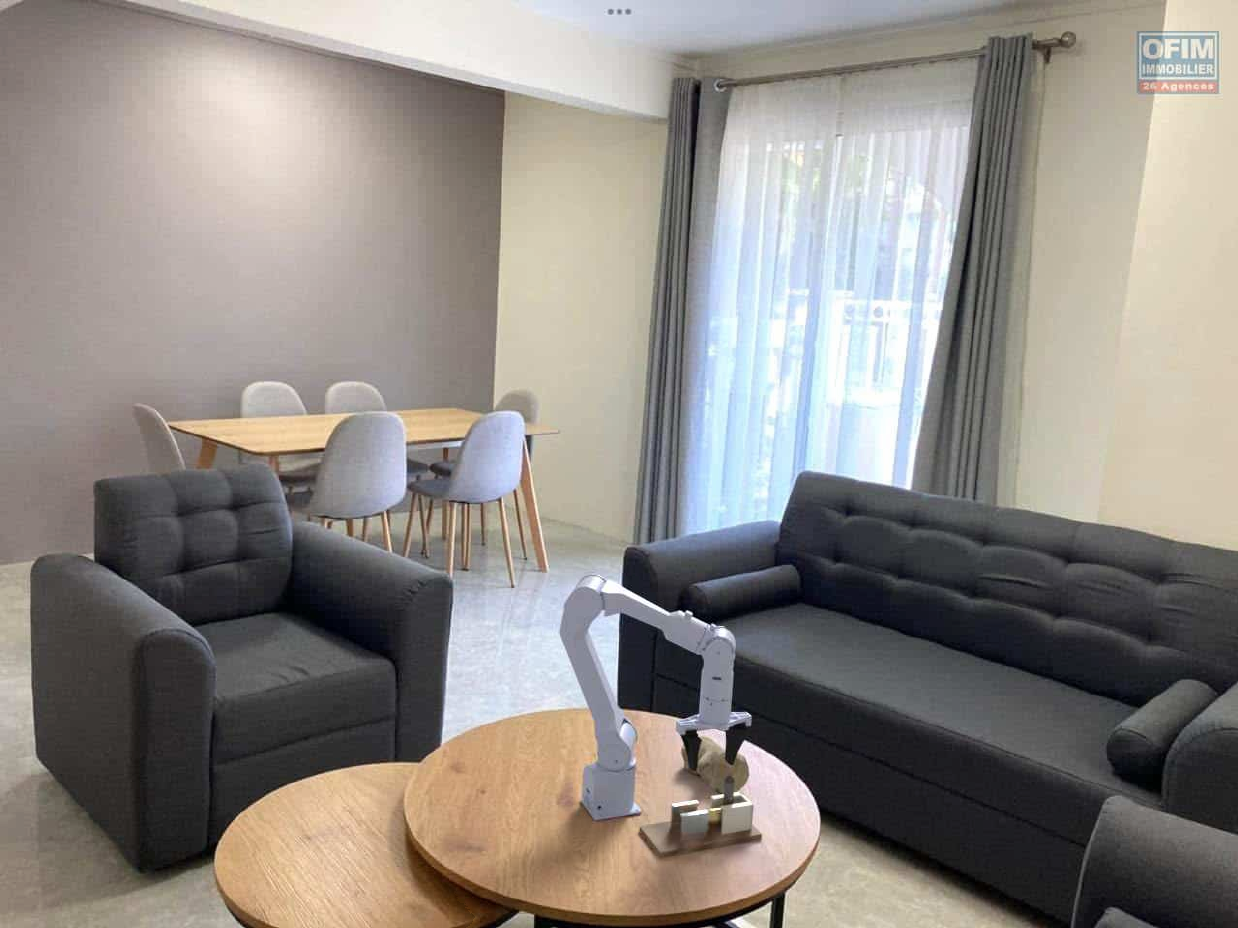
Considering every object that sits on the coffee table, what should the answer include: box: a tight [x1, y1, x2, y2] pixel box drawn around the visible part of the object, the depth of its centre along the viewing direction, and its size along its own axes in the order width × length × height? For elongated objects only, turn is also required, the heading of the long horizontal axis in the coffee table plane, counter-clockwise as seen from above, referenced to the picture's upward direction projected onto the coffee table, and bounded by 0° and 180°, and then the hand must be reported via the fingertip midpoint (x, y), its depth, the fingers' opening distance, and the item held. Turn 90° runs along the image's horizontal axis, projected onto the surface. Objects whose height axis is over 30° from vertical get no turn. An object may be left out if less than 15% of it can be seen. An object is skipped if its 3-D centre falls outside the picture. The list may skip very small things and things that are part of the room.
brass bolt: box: [686, 776, 735, 825], centre depth 178 cm, size 11×3×9 cm, turn 112°
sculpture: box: [680, 735, 750, 795], centre depth 198 cm, size 9×17×10 cm
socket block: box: [709, 791, 754, 834], centre depth 180 cm, size 6×5×5 cm
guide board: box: [638, 799, 763, 859], centre depth 178 cm, size 20×9×6 cm, turn 112°
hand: (711, 765), depth 183 cm, fingers open, 7 cm apart
